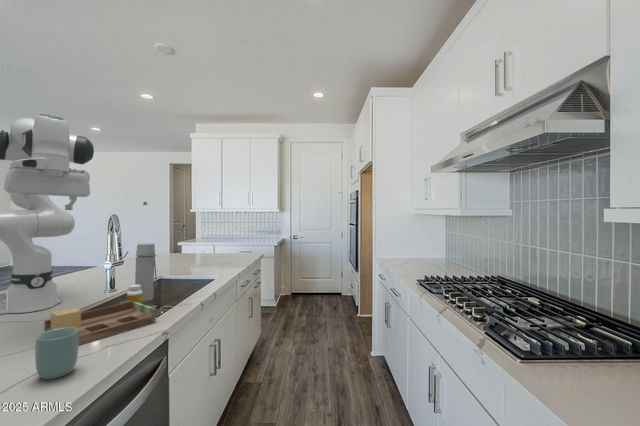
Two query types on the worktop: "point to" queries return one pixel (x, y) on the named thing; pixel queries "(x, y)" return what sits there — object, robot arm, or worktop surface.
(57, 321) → the block
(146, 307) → the box
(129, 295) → the supplement bottle
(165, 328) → the worktop surface
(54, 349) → the cup
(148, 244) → the water bottle
